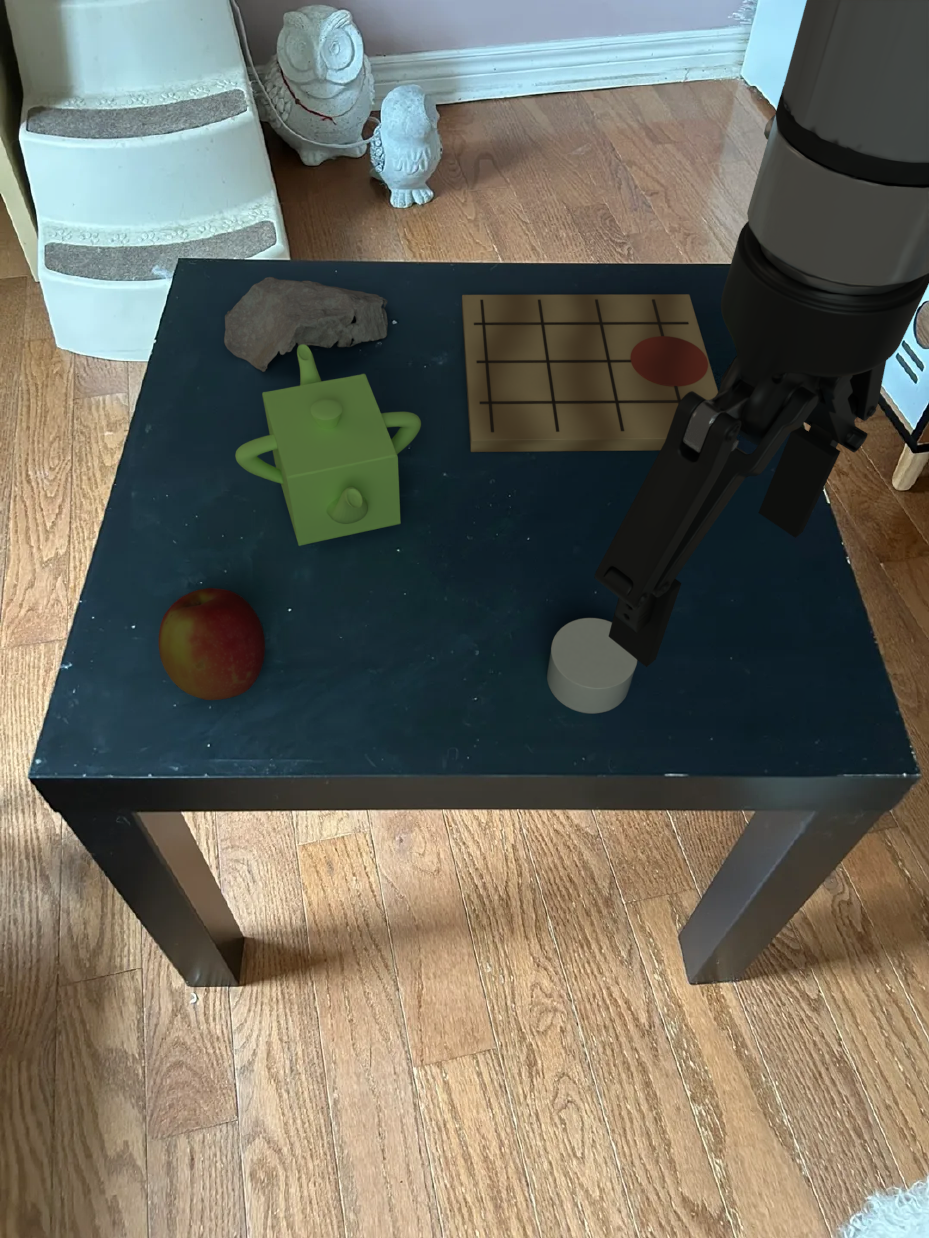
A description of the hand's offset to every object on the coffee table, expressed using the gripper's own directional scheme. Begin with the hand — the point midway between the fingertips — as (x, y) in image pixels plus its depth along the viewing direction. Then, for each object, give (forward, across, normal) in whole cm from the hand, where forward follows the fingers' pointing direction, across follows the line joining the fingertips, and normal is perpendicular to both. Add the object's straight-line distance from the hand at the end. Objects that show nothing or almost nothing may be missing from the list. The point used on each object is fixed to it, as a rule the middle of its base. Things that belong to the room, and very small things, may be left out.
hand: (709, 582), depth 55 cm
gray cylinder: (+20, -2, -7) cm, 21 cm away
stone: (+20, -10, -54) cm, 58 cm away
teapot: (+20, +1, -35) cm, 40 cm away
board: (+20, -28, -32) cm, 47 cm away
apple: (+20, +19, -26) cm, 38 cm away
